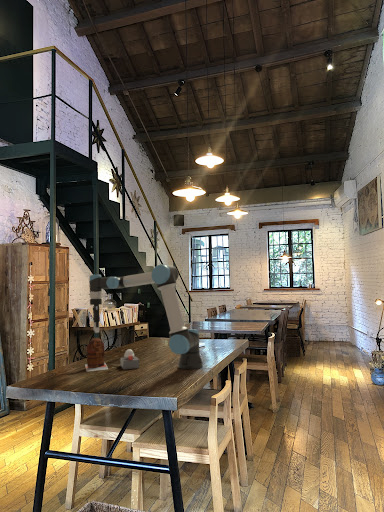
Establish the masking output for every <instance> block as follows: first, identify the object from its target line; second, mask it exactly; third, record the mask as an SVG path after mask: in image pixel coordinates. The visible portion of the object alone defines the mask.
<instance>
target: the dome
mask: <svg viewBox="0 0 384 512" xmlns="http://www.w3.org/2000/svg"><path fill="white" fill-rule="evenodd" d="M128 356H133V358H134V357H135V353H134V351H133V350H132V349H131V348H130V349H129V348H128V349H127V350H125V352H124V353H123V358H124V359H128Z"/></svg>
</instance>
